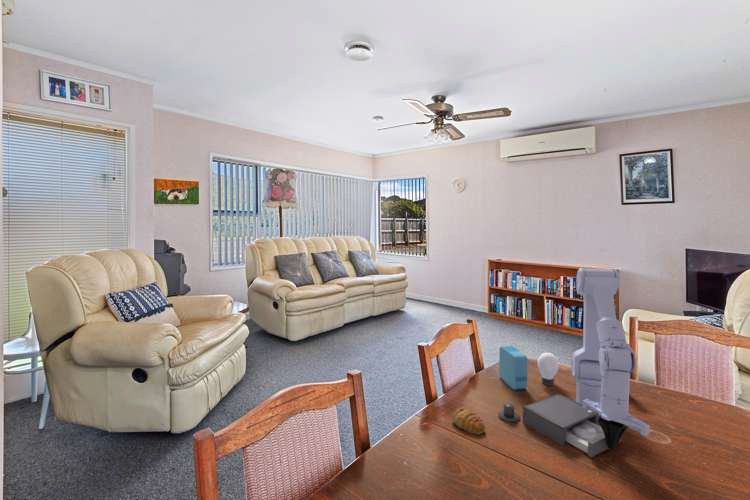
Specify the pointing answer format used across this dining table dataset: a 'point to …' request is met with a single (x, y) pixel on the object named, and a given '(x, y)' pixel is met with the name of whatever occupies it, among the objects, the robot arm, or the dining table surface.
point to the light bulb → (548, 368)
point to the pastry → (468, 421)
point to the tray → (588, 446)
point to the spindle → (508, 414)
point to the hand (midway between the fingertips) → (612, 447)
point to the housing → (556, 416)
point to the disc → (584, 431)
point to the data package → (513, 367)
